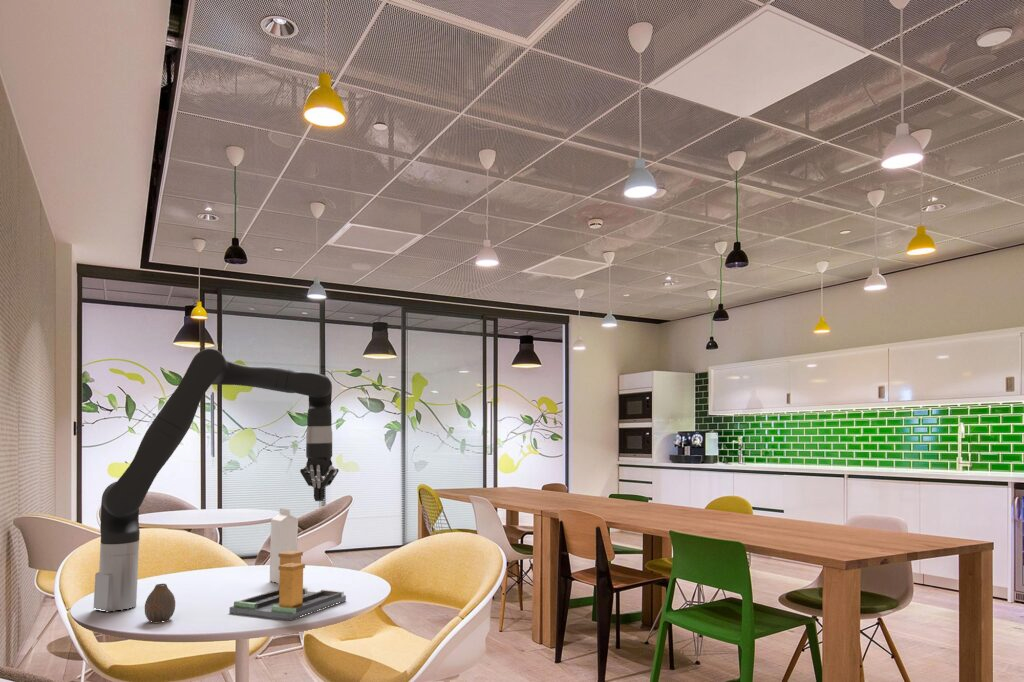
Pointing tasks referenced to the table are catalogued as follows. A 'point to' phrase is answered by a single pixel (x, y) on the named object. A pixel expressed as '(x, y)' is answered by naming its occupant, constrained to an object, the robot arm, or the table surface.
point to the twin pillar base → (288, 598)
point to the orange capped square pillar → (289, 558)
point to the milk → (282, 539)
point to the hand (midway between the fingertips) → (319, 500)
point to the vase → (160, 604)
